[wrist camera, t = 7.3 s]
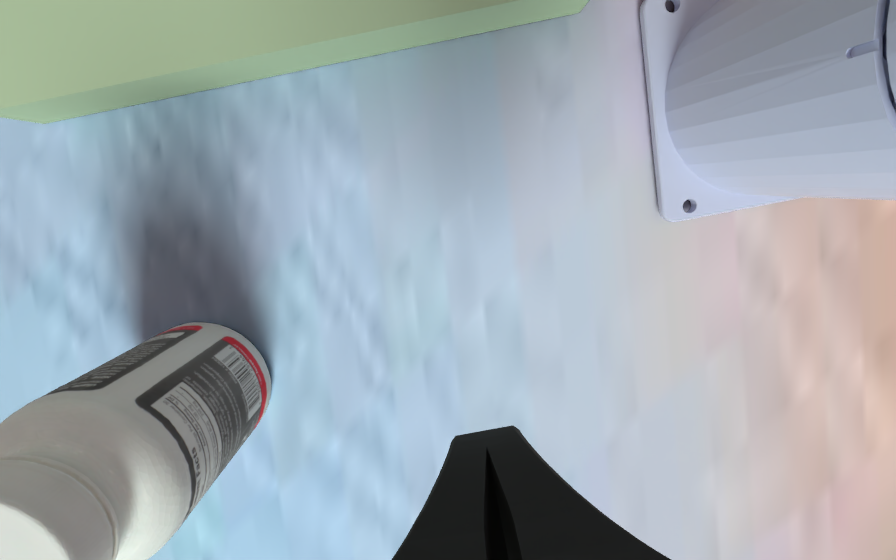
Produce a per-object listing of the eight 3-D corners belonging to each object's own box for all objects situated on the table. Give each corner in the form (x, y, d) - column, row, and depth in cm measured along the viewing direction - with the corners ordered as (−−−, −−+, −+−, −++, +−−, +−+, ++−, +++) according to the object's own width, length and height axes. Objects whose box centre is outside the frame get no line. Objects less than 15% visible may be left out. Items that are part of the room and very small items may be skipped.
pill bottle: (137, 422, 20) (-158, 652, 10) (153, 304, 18) (-158, 434, 9) (263, 451, 20) (95, 700, 10) (286, 337, 19) (123, 495, 9)
